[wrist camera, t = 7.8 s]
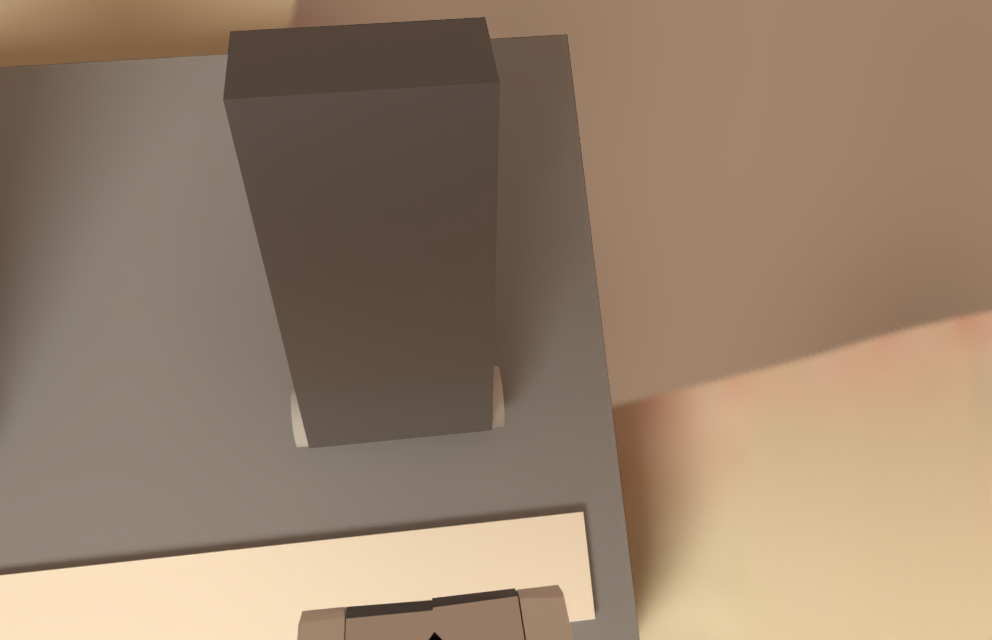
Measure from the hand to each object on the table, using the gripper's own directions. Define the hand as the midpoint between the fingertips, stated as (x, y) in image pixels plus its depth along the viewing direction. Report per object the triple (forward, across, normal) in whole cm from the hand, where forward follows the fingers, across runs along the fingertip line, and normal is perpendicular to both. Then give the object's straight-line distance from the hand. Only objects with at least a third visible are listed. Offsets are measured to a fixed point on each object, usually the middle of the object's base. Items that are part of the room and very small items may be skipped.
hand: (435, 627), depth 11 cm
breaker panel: (+12, +7, +7) cm, 16 cm away
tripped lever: (+9, 0, +4) cm, 10 cm away
